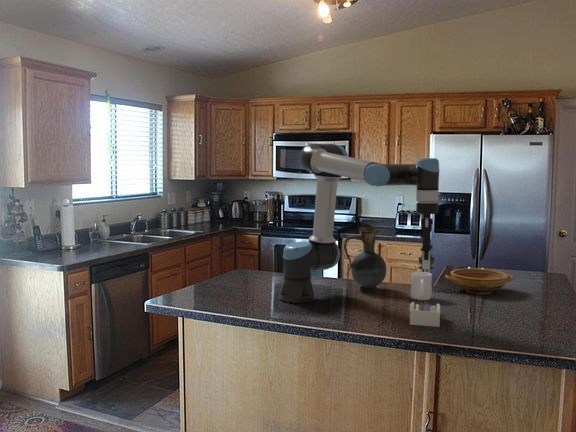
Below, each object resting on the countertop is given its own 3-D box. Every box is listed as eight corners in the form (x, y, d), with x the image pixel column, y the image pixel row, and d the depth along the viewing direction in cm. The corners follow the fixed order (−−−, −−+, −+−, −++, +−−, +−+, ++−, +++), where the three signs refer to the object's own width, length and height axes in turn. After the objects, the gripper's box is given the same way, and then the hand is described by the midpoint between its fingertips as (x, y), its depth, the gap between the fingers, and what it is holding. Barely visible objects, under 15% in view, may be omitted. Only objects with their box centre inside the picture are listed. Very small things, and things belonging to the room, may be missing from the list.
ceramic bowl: (451, 297, 220) (452, 278, 219) (438, 284, 244) (438, 267, 243) (523, 298, 218) (524, 279, 218) (503, 285, 242) (503, 268, 242)
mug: (433, 303, 211) (433, 278, 210) (412, 302, 212) (412, 277, 211) (430, 296, 223) (430, 272, 222) (410, 295, 224) (410, 271, 223)
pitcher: (388, 292, 229) (389, 224, 227) (344, 292, 229) (345, 224, 227) (383, 286, 240) (384, 221, 237) (342, 286, 240) (342, 222, 238)
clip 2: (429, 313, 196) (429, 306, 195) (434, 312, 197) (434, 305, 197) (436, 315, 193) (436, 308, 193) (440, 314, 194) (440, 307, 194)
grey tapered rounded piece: (415, 266, 188) (416, 233, 187) (431, 266, 189) (432, 233, 188) (420, 270, 182) (421, 236, 181) (437, 269, 183) (438, 235, 182)
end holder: (409, 324, 182) (409, 310, 181) (411, 315, 193) (411, 302, 193) (439, 326, 179) (439, 312, 179) (439, 317, 191) (439, 303, 190)
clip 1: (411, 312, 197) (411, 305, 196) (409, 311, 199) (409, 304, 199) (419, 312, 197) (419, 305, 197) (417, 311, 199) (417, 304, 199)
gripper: (438, 204, 173) (437, 272, 175) (438, 200, 191) (437, 263, 194) (415, 203, 175) (414, 271, 177) (417, 200, 193) (416, 262, 196)
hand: (426, 267), depth 185 cm, fingers closed on grey tapered rounded piece, 6 cm apart
